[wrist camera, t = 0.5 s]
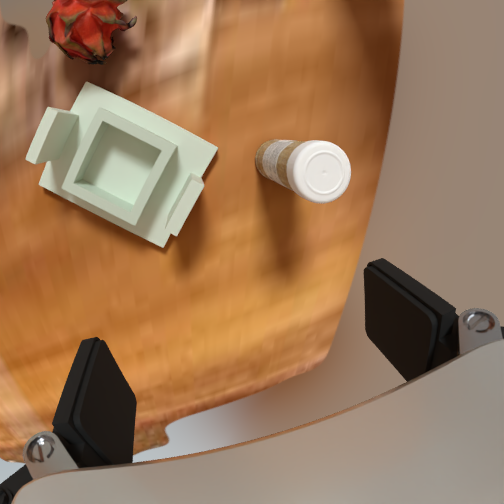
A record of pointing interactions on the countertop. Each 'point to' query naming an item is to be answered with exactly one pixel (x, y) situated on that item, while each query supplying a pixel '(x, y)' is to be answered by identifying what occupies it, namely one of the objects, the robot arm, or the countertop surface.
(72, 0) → the dragon fruit
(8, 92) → the countertop surface
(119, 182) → the caddy
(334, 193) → the sprinkles bottle
